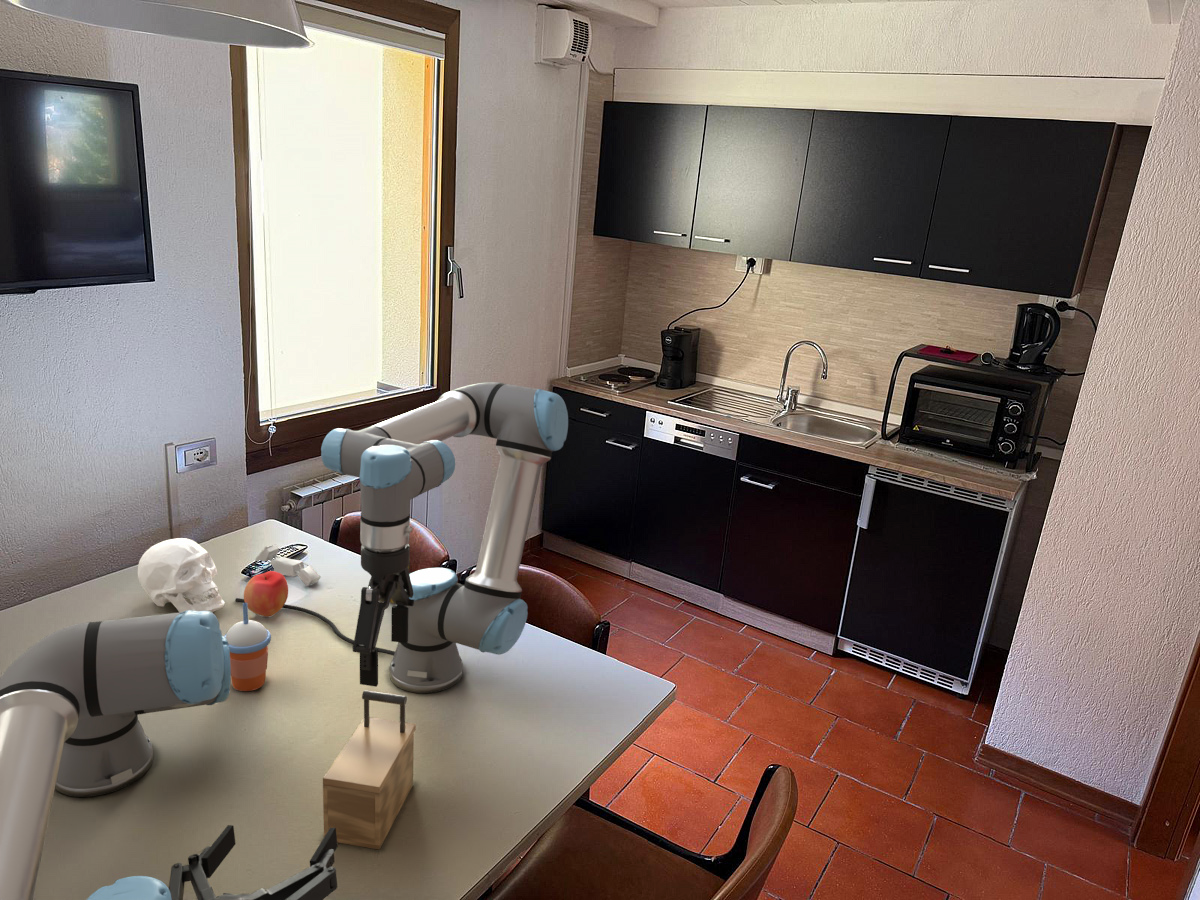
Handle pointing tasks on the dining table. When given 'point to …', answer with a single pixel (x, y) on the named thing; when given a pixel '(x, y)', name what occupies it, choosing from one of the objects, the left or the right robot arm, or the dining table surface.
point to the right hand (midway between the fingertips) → (385, 662)
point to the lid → (371, 748)
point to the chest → (368, 806)
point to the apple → (266, 593)
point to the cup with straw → (248, 653)
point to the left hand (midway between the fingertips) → (282, 835)
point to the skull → (180, 575)
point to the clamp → (288, 565)
